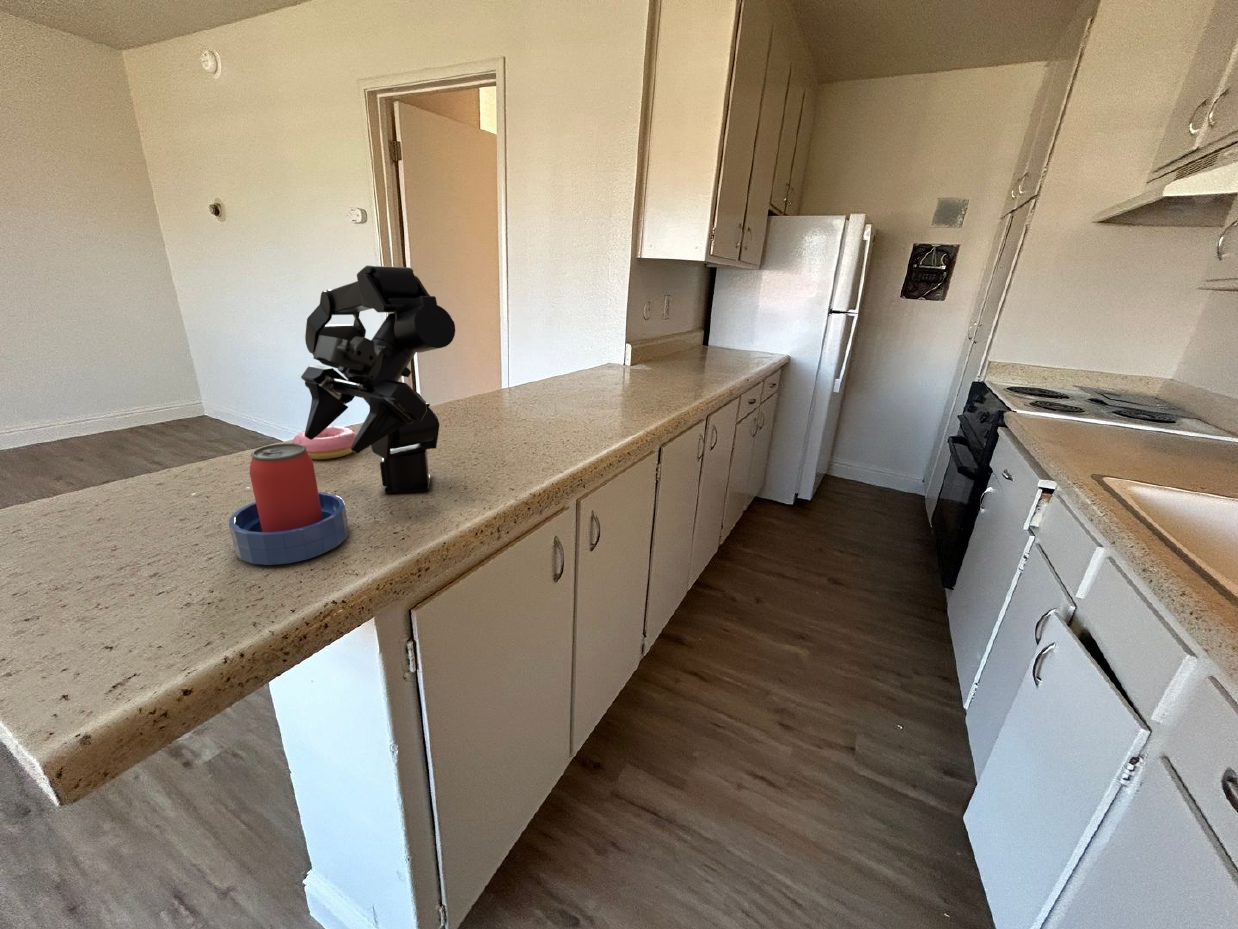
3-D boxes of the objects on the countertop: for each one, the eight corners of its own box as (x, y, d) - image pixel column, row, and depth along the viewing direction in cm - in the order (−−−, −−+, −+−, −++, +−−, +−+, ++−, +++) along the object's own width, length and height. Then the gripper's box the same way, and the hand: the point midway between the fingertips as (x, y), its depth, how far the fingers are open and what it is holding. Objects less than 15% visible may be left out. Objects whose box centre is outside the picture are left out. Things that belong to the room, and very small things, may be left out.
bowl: (356, 517, 72) (352, 488, 71) (337, 562, 61) (332, 529, 60) (257, 525, 69) (251, 494, 67) (219, 573, 58) (210, 538, 56)
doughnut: (352, 461, 93) (349, 439, 91) (284, 463, 90) (280, 440, 89) (365, 442, 103) (363, 422, 101) (305, 443, 100) (301, 423, 99)
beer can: (282, 526, 68) (265, 441, 64) (334, 527, 68) (320, 442, 64) (253, 551, 62) (232, 459, 58) (310, 552, 62) (293, 460, 58)
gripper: (303, 305, 70) (233, 399, 64) (402, 319, 62) (331, 426, 57) (360, 357, 79) (303, 442, 74) (452, 373, 72) (395, 470, 66)
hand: (330, 444), depth 67 cm, fingers open, 9 cm apart
